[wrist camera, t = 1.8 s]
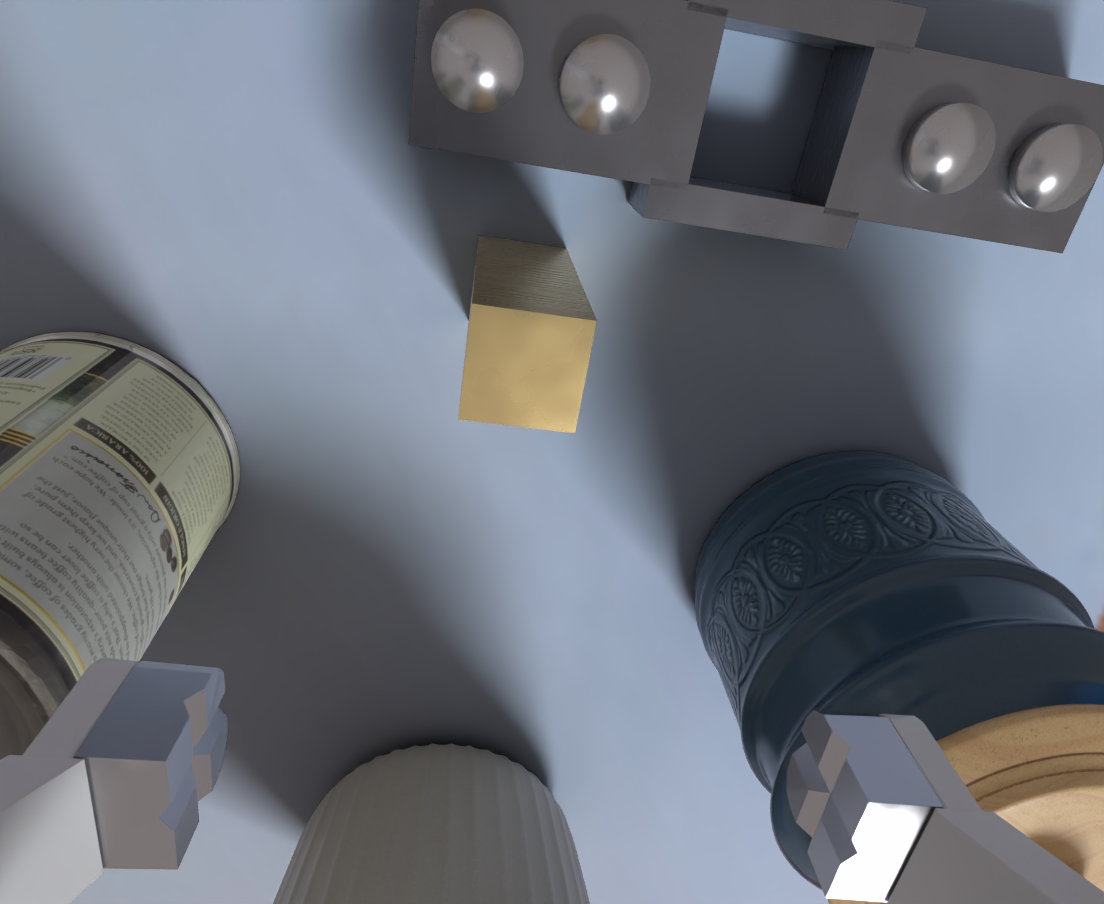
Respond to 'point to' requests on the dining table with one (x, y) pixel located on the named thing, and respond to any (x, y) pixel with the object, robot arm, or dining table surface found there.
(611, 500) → the dining table surface
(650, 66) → the silver studded bar
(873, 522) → the canister
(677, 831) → the dining table surface
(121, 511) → the coffee can
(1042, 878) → the robot arm
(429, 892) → the canister
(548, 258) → the gold rectangular block
